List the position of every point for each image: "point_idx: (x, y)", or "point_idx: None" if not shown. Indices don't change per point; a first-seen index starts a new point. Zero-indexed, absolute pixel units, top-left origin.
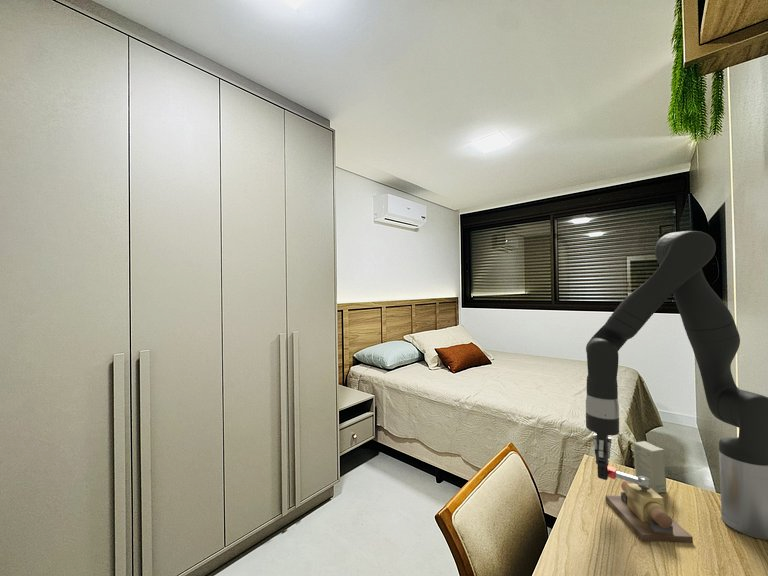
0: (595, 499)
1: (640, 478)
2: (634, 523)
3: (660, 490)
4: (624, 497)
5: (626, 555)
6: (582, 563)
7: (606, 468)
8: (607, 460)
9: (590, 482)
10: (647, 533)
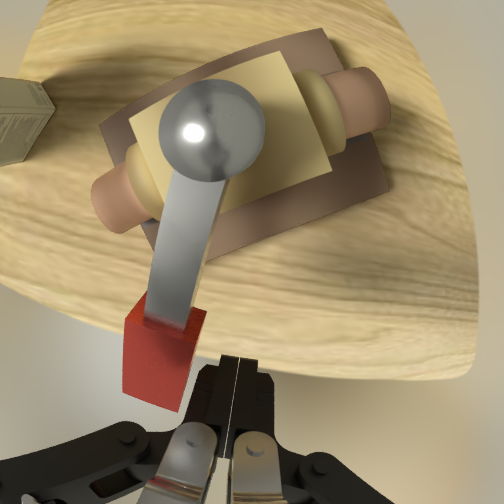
0: None
1: (219, 158)
2: (330, 200)
3: (43, 94)
4: None
5: (444, 246)
6: (467, 330)
7: (253, 419)
8: (278, 484)
9: (87, 297)
10: (375, 169)
